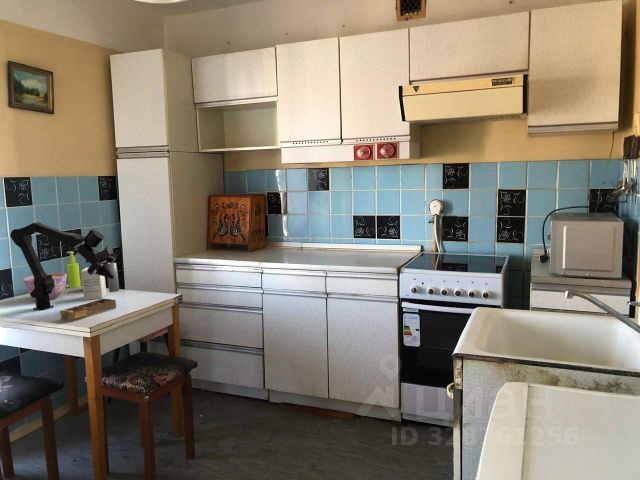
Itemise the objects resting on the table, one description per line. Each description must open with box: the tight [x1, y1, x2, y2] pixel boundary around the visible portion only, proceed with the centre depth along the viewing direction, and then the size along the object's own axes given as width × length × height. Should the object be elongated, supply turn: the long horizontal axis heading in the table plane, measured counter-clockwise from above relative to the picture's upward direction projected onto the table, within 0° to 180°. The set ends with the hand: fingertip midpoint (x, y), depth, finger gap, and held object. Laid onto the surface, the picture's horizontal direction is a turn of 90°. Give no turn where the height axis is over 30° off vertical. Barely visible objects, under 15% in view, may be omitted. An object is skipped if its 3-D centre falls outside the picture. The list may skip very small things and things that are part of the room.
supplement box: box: [80, 267, 107, 301], centre depth 261 cm, size 9×9×15 cm
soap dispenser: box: [66, 251, 82, 289], centre depth 291 cm, size 6×7×20 cm
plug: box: [106, 262, 120, 293], centre depth 241 cm, size 4×4×13 cm
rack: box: [59, 298, 117, 322], centre depth 229 cm, size 8×22×4 cm, turn 151°
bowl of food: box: [22, 272, 68, 301], centre depth 265 cm, size 20×20×12 cm
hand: (115, 277), depth 241 cm, fingers closed on plug, 4 cm apart
